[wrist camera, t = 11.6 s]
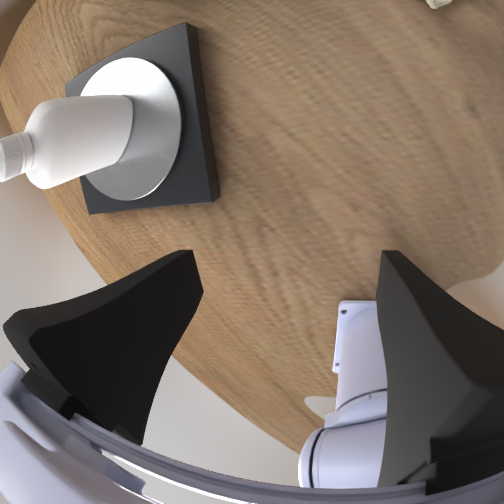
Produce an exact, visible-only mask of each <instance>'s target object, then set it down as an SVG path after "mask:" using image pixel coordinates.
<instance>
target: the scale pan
mask: <svg viewBox="0 0 504 504" xmlns="http://www.w3.org/2000/svg"><path fill="white" fill-rule="evenodd" d="M104 94H117V95H121V96H124V97H127V98H128V99H130V100H131V102H132V105H133V119H132V127H131V132H130V136H129V139H128V142H127V145H126V147H125V149H124V151H123V153H122V155H121V157H120V158H119V160H118V161H117V162H116V163H114V164H112V165H110V166H107V167H104V168H101V169H98V170H95V171H93V172H90V173H87V174H85V176H86V177H87V179H88V180H89V181H90V183H91V184H92V185H93V186H94V187H95V188H96V189H98V190H99V191H100V192H101V193H103V194H105V195H106V196H109V197H111V198H114V199H117V200H135V199H139V198H141V197H144V196H146V195H148V194H150V193H151V192H153V191H155V190H156V189H157V188H158V187H159V186H161V185H162V184H163V182H164V181H165V180H166V179H167V178H168V176H169V175H170V173H171V172H172V170H173V168H174V166H175V164H176V163H177V160H178V157H179V155H180V152H181V148H182V144H183V138H184V128H185V119H184V109H183V104H182V100H181V97H180V94H179V91H178V89H177V87H176V85H175V83H174V81H173V80H172V79H171V77H170V76H169V74H168V73H167V72H166V71H165V70H164V69H163V68H161V67H160V66H158V65H157V64H155V63H153V62H151V61H149V60H145V59H141V58H132V57H130V58H122V59H118V60H115V61H113V62H111V63H109V64H107V65H106V66H104V67H102V68H101V69H100V70H99V71H98V72H96V74H95V75H94V76H93V77H92V78H91V79H90V80H89V82H88V83H87V84H86V86H85V88H84V89H83V91H82V93H81V95H80V96H88V95H104Z"/></svg>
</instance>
